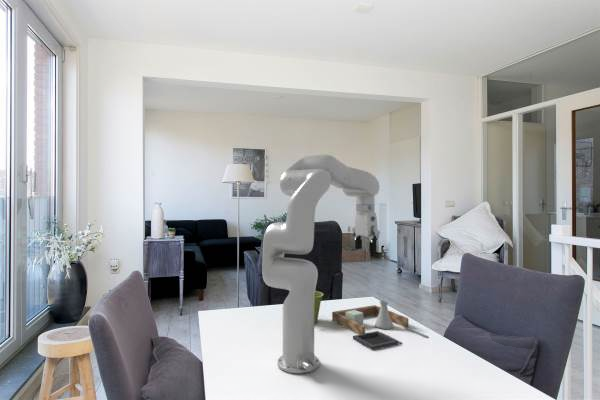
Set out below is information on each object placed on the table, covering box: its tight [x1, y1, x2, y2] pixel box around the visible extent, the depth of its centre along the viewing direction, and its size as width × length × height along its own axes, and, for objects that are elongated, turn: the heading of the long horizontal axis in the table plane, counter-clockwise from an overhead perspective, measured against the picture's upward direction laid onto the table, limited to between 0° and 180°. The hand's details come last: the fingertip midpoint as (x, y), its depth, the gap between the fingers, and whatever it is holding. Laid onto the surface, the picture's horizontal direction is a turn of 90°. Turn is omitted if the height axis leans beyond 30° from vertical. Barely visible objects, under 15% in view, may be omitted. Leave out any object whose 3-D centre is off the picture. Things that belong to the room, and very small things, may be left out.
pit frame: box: [352, 330, 399, 351], centre depth 131 cm, size 11×11×1 cm
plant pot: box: [314, 290, 324, 324], centre depth 153 cm, size 12×12×11 cm
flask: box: [374, 299, 394, 330], centre depth 146 cm, size 7×7×10 cm
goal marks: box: [380, 326, 429, 345], centre depth 136 cm, size 11×13×1 cm
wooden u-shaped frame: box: [331, 304, 409, 335], centre depth 150 cm, size 20×22×4 cm
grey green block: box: [345, 310, 364, 326], centre depth 148 cm, size 5×5×5 cm
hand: (365, 250), depth 154 cm, fingers open, 9 cm apart
